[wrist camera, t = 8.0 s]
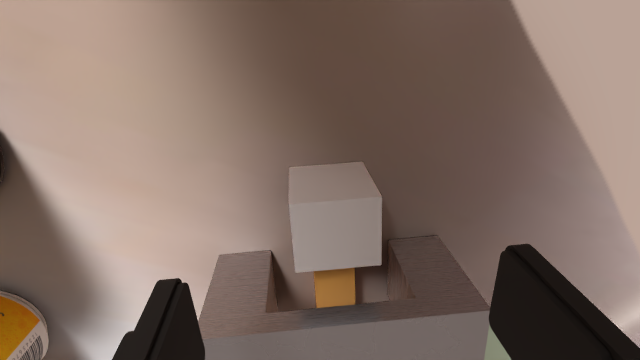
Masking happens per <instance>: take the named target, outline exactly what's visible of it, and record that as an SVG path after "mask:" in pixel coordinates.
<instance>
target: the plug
mask: <svg viewBox="0 0 640 360" xmlns="http://www.w3.org/2000/svg"><path fill="white" fill-rule="evenodd" d="M289 214H290V224H291V234H292V245H293V255H294V265H295V273H301V272H312V271H314V284H315V298H316V308H324V307H334V306H344V305H355V267H366V266H377V265H381V256H382V196H381V194H380V192H379V190H378V188H377V187H376V185H375V183H374V181H373V179H372V178H371V176H370V174H369V172H368V170H367V169H366V167H365V165H364V163H363V161H361V162H349V163H336V164H323V165H310V166H297V167H289Z"/></svg>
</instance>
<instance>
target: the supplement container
mask: <svg viewBox="0 0 640 360" xmlns="http://www.w3.org/2000/svg"><path fill="white" fill-rule="evenodd" d="M3 174H4V158H3V153H2V150H1V147H0V184H1V182H2V179H3Z"/></svg>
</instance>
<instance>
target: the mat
mask: <svg viewBox="0 0 640 360" xmlns="http://www.w3.org/2000/svg"><path fill="white" fill-rule="evenodd" d="M484 360H511V358H510V357H509V355H508V354H507V352H506V351H505V349H504V347H503V346H502V344H501V343H500V341H499V340H498V338H497V337H496V335H495V334H494V332H493V331H492V329H491V327H490V324H489V331H488V337H487V344H486V350H485V357H484Z"/></svg>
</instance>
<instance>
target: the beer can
mask: <svg viewBox="0 0 640 360" xmlns="http://www.w3.org/2000/svg"><path fill="white" fill-rule="evenodd" d="M48 345H49V338H48V334H47V324H46V321H45V319H44V317H43V315H42V314H41V312H40V311H39V310H38V309H37V308H36V307H35V306H34V305H32V304H31V303H30V302H28V301H27V300H25V299H23V298H21V297H19V296H17V295H14V294H11V293H7V292H2V291H0V360H42V359H43V357H44V356H45V354H46V352H47V350H48Z"/></svg>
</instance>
